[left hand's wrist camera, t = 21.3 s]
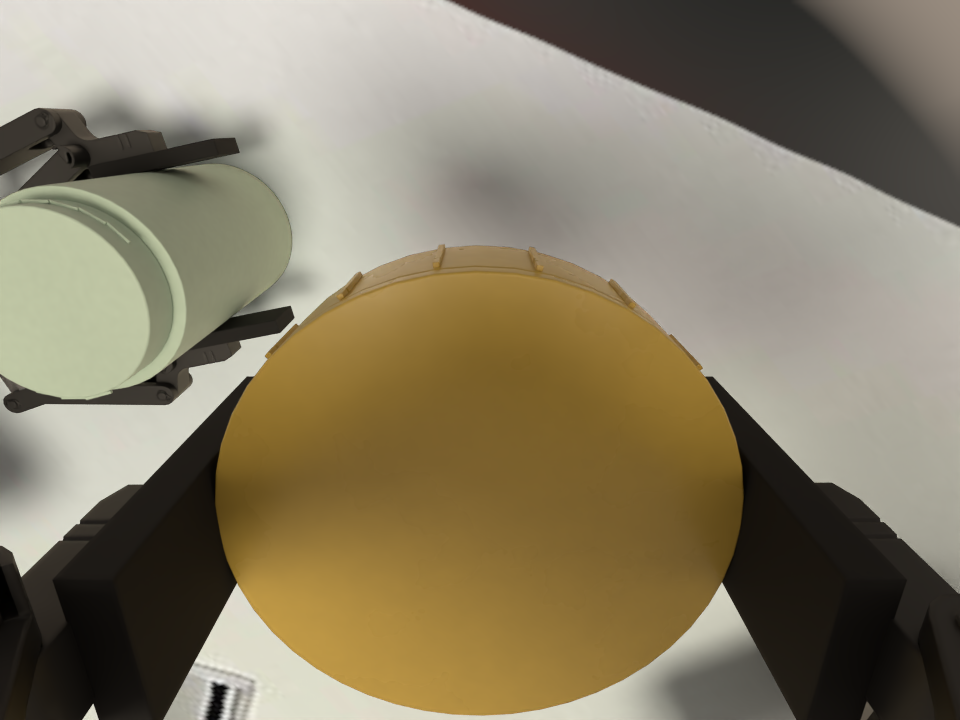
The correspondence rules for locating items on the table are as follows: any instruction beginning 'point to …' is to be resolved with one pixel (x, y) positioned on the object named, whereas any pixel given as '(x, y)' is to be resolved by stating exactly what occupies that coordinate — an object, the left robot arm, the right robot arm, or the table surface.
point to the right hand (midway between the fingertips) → (257, 237)
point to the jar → (129, 272)
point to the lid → (479, 484)
